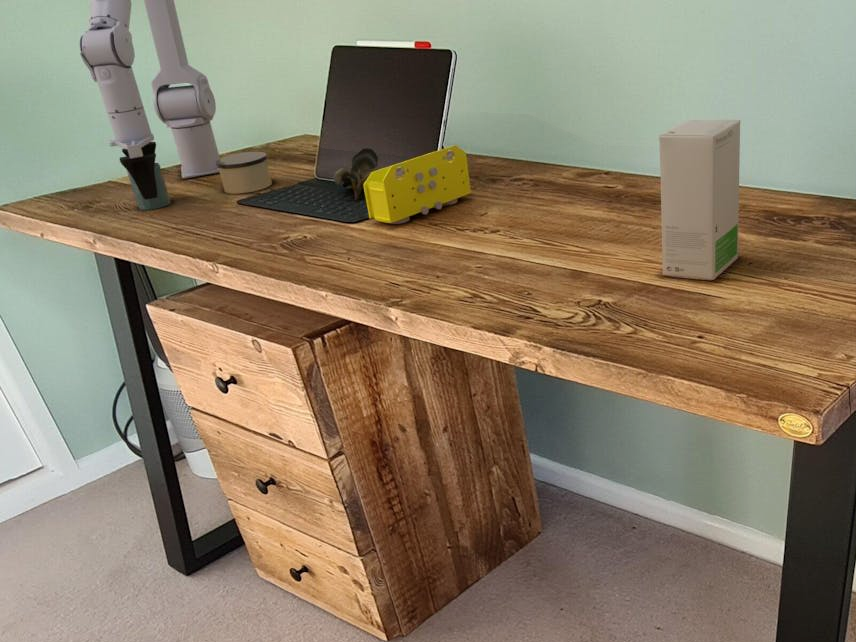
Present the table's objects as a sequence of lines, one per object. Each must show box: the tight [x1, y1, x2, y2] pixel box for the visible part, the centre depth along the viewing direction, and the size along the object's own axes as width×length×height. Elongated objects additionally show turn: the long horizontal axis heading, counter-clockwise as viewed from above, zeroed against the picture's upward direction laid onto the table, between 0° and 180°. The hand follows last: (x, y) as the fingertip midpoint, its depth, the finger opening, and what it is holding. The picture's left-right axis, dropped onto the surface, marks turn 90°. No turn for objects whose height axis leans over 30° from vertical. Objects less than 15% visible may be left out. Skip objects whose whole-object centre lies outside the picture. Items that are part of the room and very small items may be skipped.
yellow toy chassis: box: [363, 144, 472, 225], centre depth 133 cm, size 16×6×8 cm, turn 137°
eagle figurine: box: [333, 147, 379, 201], centre depth 146 cm, size 8×7×9 cm
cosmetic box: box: [658, 119, 741, 281], centre depth 99 cm, size 8×7×16 cm
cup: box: [126, 162, 172, 211], centre depth 153 cm, size 5×5×6 cm
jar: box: [216, 151, 273, 195], centre depth 158 cm, size 9×9×5 cm
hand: (151, 193), depth 154 cm, fingers open, 7 cm apart
